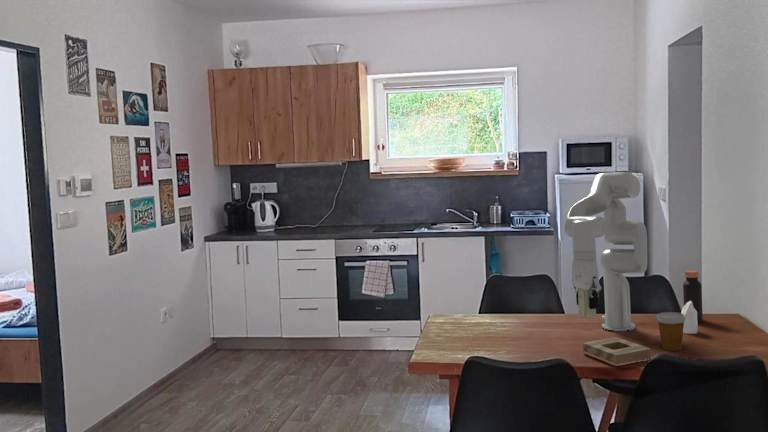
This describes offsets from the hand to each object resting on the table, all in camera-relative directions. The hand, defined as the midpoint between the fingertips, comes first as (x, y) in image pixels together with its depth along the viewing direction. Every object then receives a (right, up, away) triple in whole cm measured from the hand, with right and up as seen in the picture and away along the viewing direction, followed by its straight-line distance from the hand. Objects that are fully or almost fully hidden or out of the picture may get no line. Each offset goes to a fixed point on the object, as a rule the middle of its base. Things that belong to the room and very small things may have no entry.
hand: (587, 306), depth 248 cm
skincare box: (0, -4, 0) cm, 4 cm away
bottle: (+54, -11, +40) cm, 68 cm away
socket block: (+10, -18, 0) cm, 20 cm away
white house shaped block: (+46, -13, +24) cm, 53 cm away
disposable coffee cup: (+31, -16, +5) cm, 35 cm away
